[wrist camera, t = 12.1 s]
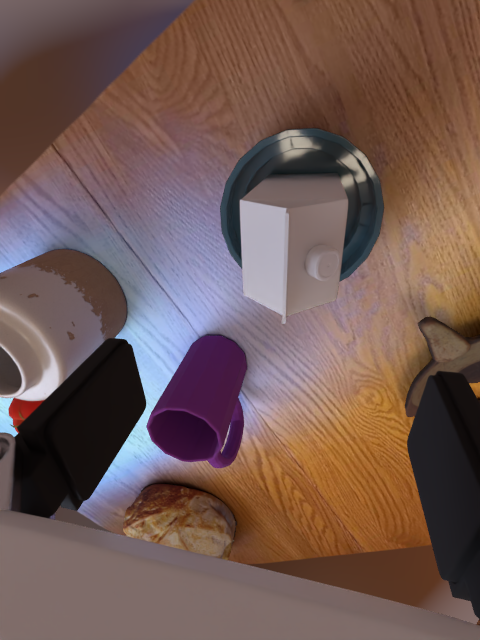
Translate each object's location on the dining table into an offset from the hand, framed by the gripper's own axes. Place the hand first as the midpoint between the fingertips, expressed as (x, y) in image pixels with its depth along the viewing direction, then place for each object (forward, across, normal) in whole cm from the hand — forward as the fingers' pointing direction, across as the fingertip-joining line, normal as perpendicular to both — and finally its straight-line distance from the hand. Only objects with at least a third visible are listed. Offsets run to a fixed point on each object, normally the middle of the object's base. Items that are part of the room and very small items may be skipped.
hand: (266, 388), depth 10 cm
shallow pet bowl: (+30, +1, +1) cm, 30 cm away
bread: (+29, +22, +69) cm, 78 cm away
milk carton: (+30, +1, +1) cm, 30 cm away
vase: (+30, +33, +14) cm, 46 cm away
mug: (+30, +11, +26) cm, 41 cm away
